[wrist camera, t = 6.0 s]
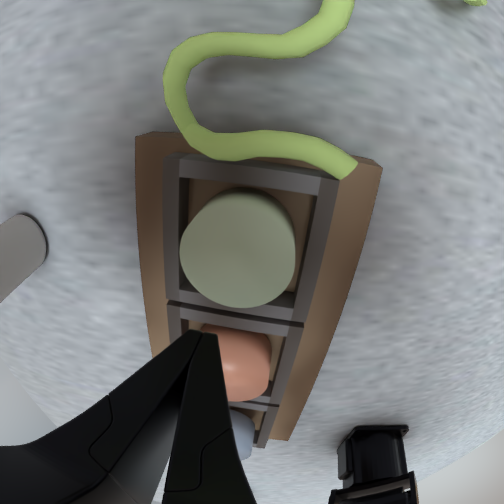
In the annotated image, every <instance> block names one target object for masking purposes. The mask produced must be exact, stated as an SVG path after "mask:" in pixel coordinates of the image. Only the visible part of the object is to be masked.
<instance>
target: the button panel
mask: <svg viewBox="0 0 504 504" xmlns="http://www.w3.org/2000/svg"><path fill="white" fill-rule="evenodd" d="M350 156H351V157H352V158H354V159H355V160H356V161H357V162H358V164H357V166H356V167H355V169H354V170H353V171H352V172H351V173H350V174H349V175H347V176H346V177H344V178H343V179H341V180H340V179H337V178H335V177H334V176H332V175H330V174H329V173H327V172H325V171H324V170H322V169H320V168H318V167H316V166H313V165H311V164H309V163H307V162H304V161H300V160H293V159H287V158H276V157H255V158H250V159H245V160H240V161H224V160H215V159H213V158H210V157H208V156H207V155H205V154H203V153H202V152H200V151H198V150H196V149H195V148H193V147H191V146H190V145H189V143H188V142H187V140H186V139H185V138H184V136H183V135H182V133H174V132H149V133H146V134H142V135H139V136H135V186H136V214H137V232H138V246H139V258H140V269H141V279H142V288H143V297H144V305H145V312H146V320H147V327H148V333H149V340H150V346H151V352H152V357H153V358H154V357H155V356H156V355H158V354H159V353H160V352H161V351H163V350H164V349H165V348H166V347H168V346H169V345H170V344H171V343H172V342H174V341H175V340H176V339H177V338H179V337H180V336H181V335H182V334H184V333H185V332H186V331H187V330H189V329H195V330H200V329H201V328H202V327H203V326H204V325H206V324H213V325H218V326H223V327H229V328H235V329H240V330H246V331H252V332H258V333H263V334H264V335H265V336H266V337H267V338H268V340H269V342H270V344H271V347H272V356H271V364H270V373H269V381H268V386H267V389H266V390H265V392H264V393H263V394H261V395H260V396H258V397H257V398H254V399H251V400H247V401H240V402H233V401H228V403H229V409H231V410H234V411H237V412H240V413H242V414H244V415H246V416H247V417H249V418H250V419H251V420H252V421H253V422H254V424H255V432H254V439H253V445H252V447H257V448H265V446H266V443H267V440H268V439H275V440H284V441H288V440H289V438H290V436H291V434H292V432H293V430H294V427H295V425H296V423H297V421H298V419H299V417H300V415H301V412H302V410H303V408H304V406H305V404H306V401H307V399H308V397H309V395H310V392H311V390H312V388H313V385H314V383H315V381H316V378H317V376H318V373H319V371H320V368H321V366H322V363H323V361H324V358H325V356H326V353H327V351H328V348H329V346H330V343H331V340H332V338H333V335H334V332H335V330H336V327H337V324H338V321H339V319H340V316H341V313H342V310H343V307H344V304H345V301H346V299H347V296H348V293H349V290H350V287H351V283H352V280H353V277H354V274H355V271H356V268H357V264H358V261H359V258H360V254H361V251H362V248H363V244H364V241H365V237H366V234H367V230H368V226H369V223H370V219H371V215H372V211H373V207H374V203H375V199H376V195H377V191H378V187H379V182H380V178H381V174H382V169H383V168H382V167H381V166H380V165H378V164H377V163H376V162H375V161H373V160H371V159H367V158H362V157H357V156H353V155H350ZM233 188H252V189H257V190H260V191H263V192H265V193H267V194H269V195H271V196H272V197H274V198H275V199H276V200H278V201H279V202H280V203H281V204H282V205H283V206H284V207H285V209H286V210H287V212H288V213H289V215H290V217H291V219H292V221H293V224H294V229H295V268H294V273H293V276H292V279H291V281H290V283H289V285H288V286H287V288H286V289H285V290H284V291H283V292H282V293H281V294H280V295H279V296H278V297H277V298H275V299H273V300H272V301H270V302H268V303H266V304H263V305H260V306H256V307H251V308H235V307H229V306H224V305H221V304H219V303H216V302H214V301H212V300H210V299H208V298H207V297H205V296H204V295H202V294H201V293H200V292H199V291H198V290H197V289H196V288H195V287H194V286H193V285H192V284H191V283H190V281H189V280H188V278H187V277H186V275H185V273H184V271H183V268H182V265H181V261H180V253H179V252H180V243H181V239H182V236H183V233H184V231H185V230H186V228H187V226H188V225H189V224H190V223H191V221H192V220H193V219H194V218H195V216H196V215H197V214H198V213H199V211H200V210H201V209H202V208H203V206H204V205H205V204H206V203H207V202H208V201H209V200H210V199H211V198H212V197H214V196H215V195H216V194H218V193H220V192H222V191H225V190H228V189H233Z"/></svg>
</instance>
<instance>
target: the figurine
mask: <svg viewBox="0 0 504 504" xmlns="http://www.w3.org/2000/svg"><path fill="white" fill-rule="evenodd" d="M354 1H355V0H323V2H322V5H321V8H320V10H319V13H318V14H317V15H315V16H314V17H313V18H311V19H310V20H309V21H307V22H306V23H305V24H303V25H302V26H300V27H297V28H295V29H293V30H291V31H289V32H287V33H285V34H283V35H279V34H254V33H238V32H211V33H206V34H202V35H198V36H194V37H190V38H188V39H187V40H186V41H184V42H183V43H181V44H180V45H179V46H177V47H176V48H175V49H173V50H172V52H171V54H170V57H169V59H168V61H167V64H166V67H165V69H164V72H163V87H164V96H165V103H166V105H167V107H168V109H169V111H170V113H171V115H172V117H173V119H174V122H175V123H176V125H177V127H178V128H179V130H180V132H181V133H182V135H183V136H184V138H185V139H186V140H187V142H188V143H189V145H190V146H191V147H193V148H195V149H196V150H198V151H200V152H202V153H203V154H205V155H207V156H208V157H210V158H213V159H215V160H224V161H240V160H245V159H250V158H255V157H276V158H287V159H293V160H300V161H304V162H307V163H309V164H311V165H313V166H316V167H318V168H320V169H322V170H324V171H325V172H327V173H329V174H330V175H332V176H334V177H335V178H337V179H340V180H341V179H343V178H344V177H346V176H347V175H349V174H350V173H351V172H352V171H353V170H354V169H355V167H356V166H357V164H358V162H357V161H356V160H355V159H354V158H352V157H351V156H350V155H348V154H347V153H345V152H344V151H343V150H341V149H340V148H338V147H336V146H334V145H332V144H330V143H328V142H326V141H325V140H323V139H321V138H318V137H313V136H309V135H304V134H299V133H294V132H285V131H274V130H258V131H249V132H241V133H214V132H212V131H210V130H208V129H206V128H204V127H202V126H200V125H199V124H198V123H197V121H196V119H195V117H194V116H193V114H192V112H191V110H190V108H189V106H188V101H187V95H186V89H185V86H186V83H187V80H188V77H189V74H190V71H191V69H192V68H193V67H195V66H196V65H198V64H199V63H201V62H202V61H204V60H205V59H207V58H211V57H218V56H225V55H234V56H248V57H259V58H268V59H285V58H300V57H305V56H306V55H308V54H310V53H312V52H314V51H315V50H317V49H319V48H321V47H323V46H325V45H327V44H328V43H329V42H330V41H331V40H333V39H334V38H335V37H336V36H337V35H339V34H340V33H341V32H342V31H343V30H345V29H346V27H347V24H348V22H349V19H350V16H351V14H352V11H353V8H354ZM463 1H465V2H466V3H468V4H469V5H473V6H482V5H486V4H487V0H463Z"/></svg>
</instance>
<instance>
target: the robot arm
mask: <svg viewBox="0 0 504 504" xmlns="http://www.w3.org/2000/svg"><path fill="white" fill-rule="evenodd" d="M232 427H233V426H232V420H231V415H230V409H229V403H228V397H227V391H226V385H225V379H224V373H223V367H222V360H221V354H220V347H219V340H218V335H217V334H215V333H210V332H204V333H203V332H202V331H200V330H195V329H189V330H187V331H186V332H185V333H184V334H182V335H181V336H180V337H179V338H177V339H176V340H175V341H174V342H172V343H171V344H170V345H169V346H168V347H166V348H165V349H164V350H163V351H161V352H160V353H159V354H158V355H156V356H155V357H154V358H153V359H151V360H150V361H149V362H148V363H146V364H145V365H144V366H143V367H141V368H140V369H139V370H138V371H136V372H135V373H134V374H133V375H131V376H130V377H129V378H128V379H126V380H125V381H124V382H123V383H121V384H120V385H119V386H118V387H116V388H115V389H114V390H113V391H111V392H110V393H109V395H106V396H105V397H103V398H102V399H101V400H100V401H98V402H97V403H96V404H94V405H93V406H92V407H90V408H89V409H87V410H86V411H85V412H83V413H82V414H80V415H78V416H77V417H75V418H74V419H72V420H71V421H69V422H67V423H65V424H64V425H62V426H60V427H59V428H57V429H55V430H53V431H52V432H50V433H48V434H46V435H45V436H43V437H41V438H39V439H37V440H35V441H33V442H30V443H27V444H24V445H17V446H0V504H151V502H152V500H153V497H154V495H155V492H156V490H157V487H158V485H159V482H160V480H161V477H162V474H163V472H164V469H165V467H166V464H167V462H168V459H169V457H170V461H169V466H168V471H167V477H166V482H165V488H164V492H165V493H164V494H163V499H162V504H257V503H256V500H255V498H254V495H253V493H252V491H251V488H250V486H249V483H248V480H247V478H246V475H245V473H244V470H243V467H242V464H241V461H240V458H239V454H238V450H237V445H236V441H235V436H234V430H233V428H232ZM408 431H409V428H408V426H389V427H356V428H354V430H353V431H352V432H351V433H350V435H349V436H348V437H347V439H346V440H345V441H344V442H343V443H342V445H341V446H340V447H339V448H338V450H337V454H338V478H339V479H340V480H343V489H339V490H337V489H334V490H331V495H330V497H329V502H328V504H419V499H418V491H417V483H416V478H415V474H414V471H411V472H409V473H408V471H407V463H406V457H405V450H404V444H403V438H402V437H403V436H404V435H405V434H406V433H407V432H408ZM170 454H171V455H170ZM408 488H410V490H409V491H406V492H404V489H408Z"/></svg>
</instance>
